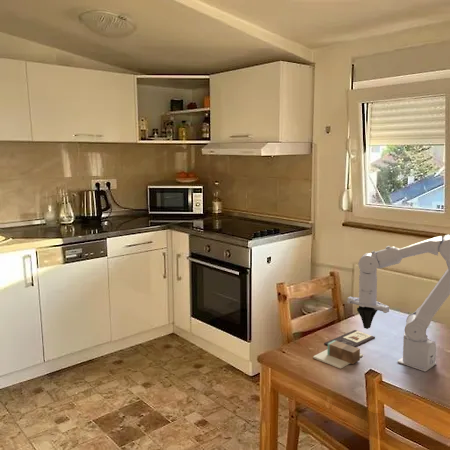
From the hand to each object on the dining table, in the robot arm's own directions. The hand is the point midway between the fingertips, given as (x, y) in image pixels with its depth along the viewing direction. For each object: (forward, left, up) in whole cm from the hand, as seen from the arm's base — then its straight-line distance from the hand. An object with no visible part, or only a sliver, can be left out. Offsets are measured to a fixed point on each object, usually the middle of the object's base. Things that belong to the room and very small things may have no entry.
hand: (367, 327), depth 154 cm
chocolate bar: (+10, -6, -11) cm, 16 cm away
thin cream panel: (+6, +8, -10) cm, 14 cm away
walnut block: (-1, +8, -7) cm, 11 cm away
